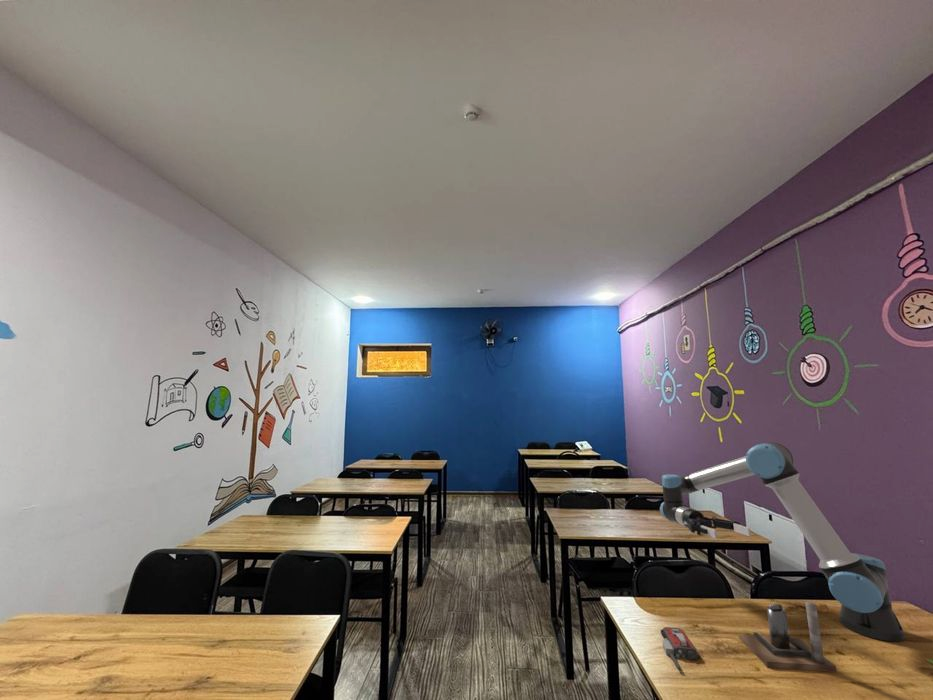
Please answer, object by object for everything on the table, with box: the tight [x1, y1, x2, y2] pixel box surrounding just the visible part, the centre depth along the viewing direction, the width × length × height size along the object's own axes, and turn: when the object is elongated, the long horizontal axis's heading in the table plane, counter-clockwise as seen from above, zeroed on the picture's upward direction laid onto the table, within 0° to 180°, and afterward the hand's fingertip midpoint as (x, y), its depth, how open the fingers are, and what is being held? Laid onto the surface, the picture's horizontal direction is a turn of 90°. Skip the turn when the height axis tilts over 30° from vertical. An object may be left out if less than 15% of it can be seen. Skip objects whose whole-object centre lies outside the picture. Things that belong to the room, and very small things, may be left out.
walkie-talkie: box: [660, 626, 698, 672], centre depth 117 cm, size 9×4×20 cm
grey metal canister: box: [766, 603, 790, 649], centre depth 119 cm, size 5×5×12 cm
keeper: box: [738, 601, 838, 673], centre depth 117 cm, size 19×14×16 cm
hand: (732, 533), depth 137 cm, fingers open, 13 cm apart
